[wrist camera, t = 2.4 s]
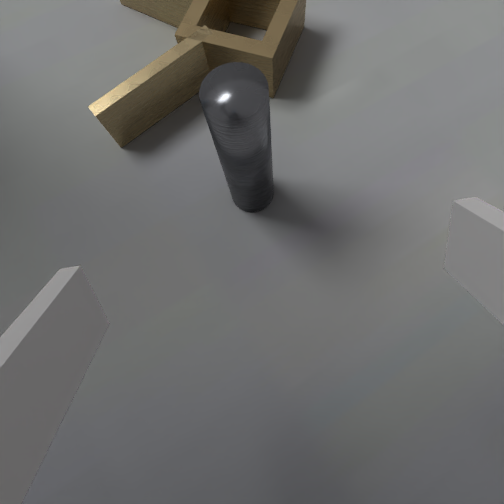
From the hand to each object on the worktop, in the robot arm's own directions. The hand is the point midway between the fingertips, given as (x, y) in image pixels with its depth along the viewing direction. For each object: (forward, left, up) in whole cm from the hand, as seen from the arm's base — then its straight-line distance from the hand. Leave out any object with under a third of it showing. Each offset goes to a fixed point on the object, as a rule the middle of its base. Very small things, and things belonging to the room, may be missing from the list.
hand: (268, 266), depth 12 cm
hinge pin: (-5, +8, -14) cm, 17 cm away
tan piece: (-17, +18, -14) cm, 28 cm away
